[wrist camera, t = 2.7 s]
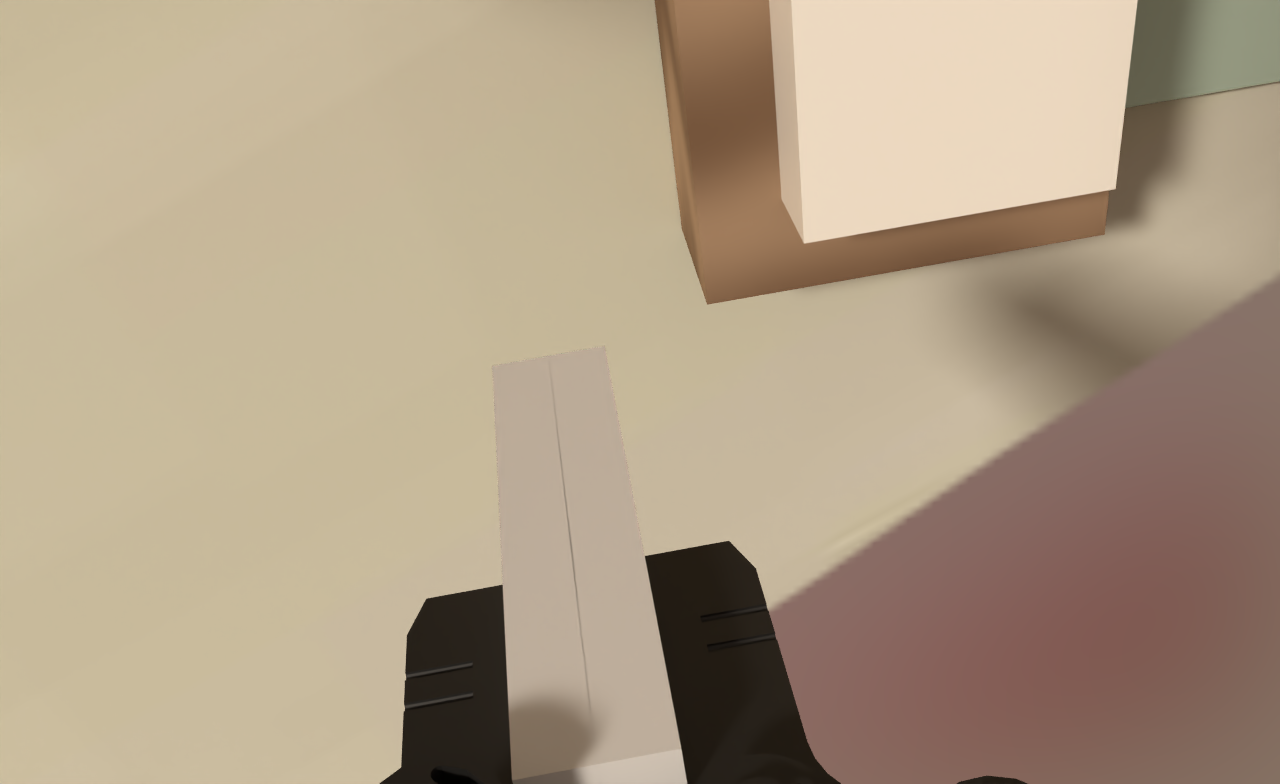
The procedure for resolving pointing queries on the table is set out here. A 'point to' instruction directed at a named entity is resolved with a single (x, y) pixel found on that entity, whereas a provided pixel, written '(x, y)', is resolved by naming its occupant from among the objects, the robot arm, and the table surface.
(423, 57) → the table surface
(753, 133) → the brown flat block
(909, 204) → the tile
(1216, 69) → the mat
